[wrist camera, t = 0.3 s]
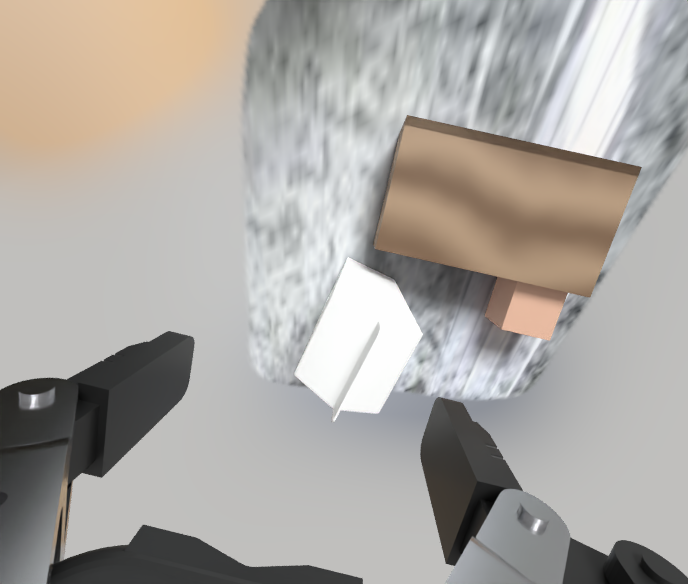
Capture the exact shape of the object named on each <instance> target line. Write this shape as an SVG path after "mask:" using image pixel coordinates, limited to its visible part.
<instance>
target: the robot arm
mask: <svg viewBox="0 0 688 584" xmlns="http://www.w3.org/2000/svg"><path fill="white" fill-rule="evenodd" d="M193 351H194V339H193V337H191V336H187V335H183V334H179V333H175V332H171V331H168V332H166V333H164V334H162V335H160V336H159V337H157V338H155V339H153V340H152V341H150V342H143V343H139V344H135V345H131V346H128V347H126V348H125V349H123V350H121V351H119V352H117V353H116V354H115V355H112V356H110V357H108V358H106V359H104V361H100V362H98V363H97V364H95V365H93V366H91V367H89V368H87V369H85V370H84V371H82V372H80V373H78V374H76V375H74V376H72V377H70V378H69V379H67V380H65V379H60V378H37V379H30V380H26V381H21V382H18V383H15V384H12V385H9V386H7V387H5V388H3V389H1V390H0V584H363V579H362V578H358V577H354V576H350V575H346V574H341V573H337V572H334V571H330V570H325V569H321V568H317V567H313V566H309V565H303V566H271V567H249V566H245V565H243V564H241V563H239V562H237V561H236V560H234V559H232V558H231V557H229V556H227V555H226V554H224V553H222V552H220V551H219V550H217V549H215V548H213V547H212V546H210V545H208V544H207V543H205V542H203V541H201V540H200V539H198V538H195V537H191V536H187V535H183V534H179V533H175V532H171V531H167V530H163V529H159V528H155V527H151V526H147V525H143V526H142V527H141V528H140V529H139V531H138V532H137V534H136V535H135V536H134V538H133V539H132V541H131V542H130V544H129V545H120V546H113V547H106V548H101V549H96V550H93V551H88V552H85V553H82V554H79V555H76V556H73V557H70V558H67V559H65V560H64V554H65V545H66V537H67V528H68V520H69V512H70V503H71V495H72V484H73V480H74V479H75V478H76V477H77V476H78V475H80V474H81V473H85V474H89V475H93V476H97V477H103V476H104V475H105V474H106V473H107V472H108V471H109V470H110V469H111V468H112V467H113V466H114V465H115V464H116V463H117V462H118V461H119V460H120V459H121V458H122V457H123V456H124V455H125V454H126V453H127V452H128V451H129V450H130V449H131V448H133V446H135V445H136V444H137V443H138V442H139V441H140V440H141V438H143V437H144V436H145V435H146V434H147V433H148V432H149V431H150V430H151V429H152V428H153V427H154V426H155V425H156V424H157V423H158V422H159V421H160V420H161V419H162V418H163V417H164V416H165V415H166V414H167V413H168V412H169V411H170V410H171V409H172V408H173V407H174V406H175V405H176V404H177V403H178V402H179V401H180V400H181V399H182V397H183V396H184V394H185V392H186V390H187V387H188V384H189V379H190V372H191V365H192V358H193ZM420 455H421V462H422V466H423V471H424V474H425V479H426V483H427V487H428V491H429V496H430V500H431V504H432V508H433V512H434V516H435V520H436V525H437V528H438V533H439V537H440V541H441V545H442V549H443V553H444V558H445V562H446V564H449V565H454V566H455V567H454V569H453V571H452V572H451V574H450V576H449V578H448V579H447V581H446V583H445V584H688V578H687V577H686V576H685V575H684V574H683V573H682V572H681V571H680V570H679V569H677V568H676V567H675V566H674V565H672V564H671V563H670V562H669V561H667V560H666V559H664V558H663V557H661V556H660V555H658V554H657V553H655V552H653V551H652V550H650V549H648V548H646V547H644V546H641V545H639V544H637V543H634V542H631V541H626V540H621V541H618V542H616V543H615V545H614V547H613V549H612V551H611V553H610V555H609V556H607V555H605V554H603V553H601V552H599V551H597V550H595V549H593V548H590V547H589V546H586V545H584V544H582V543H580V542H578V541H576V540H574V539H572V538H570V533H569V530H568V528H567V526H566V525H565V523H564V521H563V520H562V519H561V518H560V517H559V516H558V514H557V513H556V512H555V511H554V510H553V509H551V508H550V507H549V506H548V505H547V504H545V503H544V502H542V501H541V500H539V499H538V498H536V497H534V496H533V495H530V494H529V493H526V492H524V491H523V490H522V488H521V487H520V485H519V483H518V481H517V480H516V478H515V477H514V475H513V473H512V471H511V470H510V468H509V466H508V465H507V463H506V461H505V460H503V456H502V454H501V453H500V451H499V449H497V446H496V444H495V443H494V441H493V439H492V438H491V436H490V434H489V433H488V432H487V431H486V430H484V429H483V428H482V427H481V426H480V425H479V424H478V423H477V422H473V421H472V419H471V417H470V416H469V414H468V412H467V410H466V408H465V406H464V405H463V403H461V402H457V401H453V400H449V399H445V398H440V397H438V398H437V399H436V400H435V403H434V405H433V408H432V411H431V414H430V417H429V421H428V423H427V426H426V429H425V433H424V436H423V439H422V443H421V454H420Z"/></svg>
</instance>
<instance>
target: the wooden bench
mask: <svg viewBox="0 0 688 584" xmlns="http://www.w3.org/2000/svg"><path fill="white" fill-rule="evenodd" d="M640 170H641V167H639V166H634V165H630V164H625V163H621V162H616V161H612V160H607V159H603V158H598V157H594V156H589V155H585V154H580V153H576V152H571V151H567V150H562V149H558V148H553V147H549V146H544V145H540V144H535V143H530V142H526V141H521V140H517V139H512V138H508V137H503V136H499V135H494V134H490V133H485V132H481V131H476V130H472V129H467V128H463V127H458V126H454V125H449V124H445V123H440V122H436V121H431V120H427V119H422V118H418V117H413V116H409V115H407V117H406V119H405V122H404V124H403V126H402V129H401V131H400V134H399V138H398V142H397V147H396V151H395V155H394V159H393V163H392V168H391V172H390V176H389V180H388V184H387V189H386V193H385V197H384V201H383V205H382V210H381V214H380V218H379V222H378V227H377V231H376V235H375V239H374V243H373V245H374V247H375V249H377V250H382V251H386V252H391V253H395V254H400V255H404V256H408V257H413V258H417V259H422V260H426V261H430V262H435V263H439V264H444V265H448V266H453V267H457V268H461V269H466V270H470V271H475V272H479V273H484V274H488V275H492V276H497V277H501V278H506V279H510V280H515V281H519V282H523V283H528V284H532V285H537V286H541V287H546V288H550V289H554V290H559V291H563V292H568V293H572V294H577V295H581V296H585V297H590V296H591V294H592V291H593V289H594V286H595V284H596V281H597V279H598V276H599V274H600V271H601V269H602V266H603V264H604V261H605V258H606V256H607V253H608V251H609V248H610V246H611V243H612V241H613V238H614V236H615V233H616V231H617V228H618V226H619V223H620V221H621V218H622V216H623V213H624V210H625V208H626V205H627V203H628V200H629V198H630V195H631V193H632V190H633V188H634V185H635V183H636V180H637V178H638V175H639V173H640Z"/></svg>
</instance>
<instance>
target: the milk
mask: <svg viewBox="0 0 688 584" xmlns="http://www.w3.org/2000/svg"><path fill="white" fill-rule="evenodd" d="M422 335H423V334H422V332H421V330H420V328H419V326H418V324H417V322H416V320H415V319H414V317H413V315H412V313H411V311H410V309H409V307H408V305H407V303H406V301H405V299H404V297H403V295H402V293H401V291H400V290H399V288H398V286H397V284H396V282H395V280H394V279H392V278H390V277H388V276H386V275H384V274H382V273H380V272H378V271H376V270H374V269H372V268H369V267H367V266H365V265H363V264H361V263H359V262H357V261H355V260H353V259H351V258H347V260H346V262H345V264H344V266H343V268H342V270H341V272H340V275H339V277H338V279H337V281H336V283H335V285H334V287H333V289H332V291H331V293H330V295H329V298H328V300H327V302H326V304H325V306H324V308H323V311H322V313H321V315H320V317H319V319H318V322H317V324H316V326H315V328H314V330H313V333H312V335H311V337H310V339H309V341H308V344H307V346H306V348H305V350H304V353H303V355H302V357H301V359H300V361H299V364H298V366H297V368H296V370H295V373H294V375H295V376H296V377H297V378H298V379H299V380H300V381H301V382H303V383H304V384H305V385H306V386H307V387H308V388H309V389H311V390H312V391H313V392H314V393H315V394H316V395H317V396H319V397H320V398H321V399H322V400H323V401H324V402H326V403H327V404H328V405H329V406H330V407H331V408H332V409H333V414H332V422H334V421H335V420H336V418H337V416H338V414H339V412H340V410H342V411H352V412H365V413H376V414H378V413H379V412H380V410H381V408H382V407H383V405H384V403H385V401H386V399H387V398H388V396H389V394H390V392H391V391H392V389H393V387H394V385H395V383H396V382H397V380H398V378H399V376H400V375H401V373H402V371H403V369H404V367H405V366H406V364H407V362H408V360H409V359H410V357H411V355H412V353H413V351H414V350H415V348H416V346H417V344H418V343H419V341H420V339H421V337H422Z"/></svg>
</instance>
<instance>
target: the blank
mask: <svg viewBox="0 0 688 584" xmlns="http://www.w3.org/2000/svg"><path fill="white" fill-rule="evenodd" d="M567 294H568V292H563V291H559V290H554V289H550V288H546V287H541V286H537V285H532V284H528V283H523V282H519V281H515V280H510V279H506V278H501V277H497V280H496V283H495V286H494V289H493V292H492V295H491V298H490V301H489V304H488V307H487V310H486V313H485V317H486V318H488V319H489V320H490V321H491V322H493V323H494V324H495V325H496V326H498V327H499V328H500V329H502V330H506V331H511V332H515V333H520V334H524V335H528V336H533V337H537V338H541V339H546V340H550V338H551V336H552V333H553V331H554V328H555V325H556V323H557V320H558V317H559V315H560V312H561V309H562V307H563V304H564V302H565V299H566V296H567Z"/></svg>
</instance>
